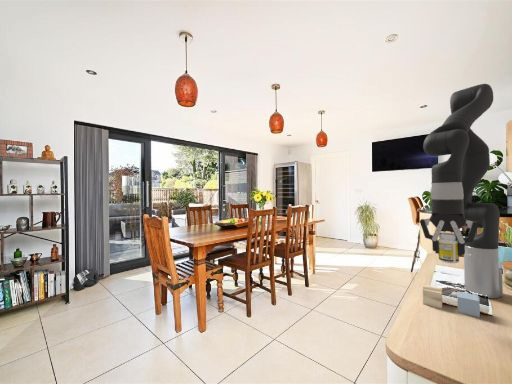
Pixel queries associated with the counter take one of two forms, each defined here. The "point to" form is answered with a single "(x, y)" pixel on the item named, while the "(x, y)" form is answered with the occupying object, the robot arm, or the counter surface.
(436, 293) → the beech cube
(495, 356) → the counter surface
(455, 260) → the supplement bottle
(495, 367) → the counter surface
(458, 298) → the slate cube
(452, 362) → the counter surface
